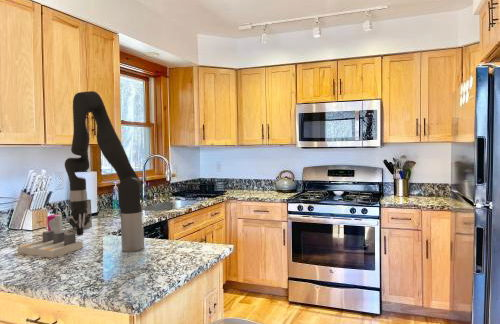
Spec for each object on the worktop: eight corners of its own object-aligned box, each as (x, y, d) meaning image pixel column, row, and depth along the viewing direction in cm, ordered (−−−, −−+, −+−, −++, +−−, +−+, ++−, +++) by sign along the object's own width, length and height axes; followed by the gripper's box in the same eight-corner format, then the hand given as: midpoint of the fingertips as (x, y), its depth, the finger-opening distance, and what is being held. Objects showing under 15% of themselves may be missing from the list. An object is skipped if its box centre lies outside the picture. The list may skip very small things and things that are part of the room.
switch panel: (49, 243, 179) (49, 237, 179) (82, 247, 170) (82, 241, 170) (17, 252, 164) (17, 245, 164) (52, 257, 156) (52, 250, 155)
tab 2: (60, 242, 173) (59, 231, 173) (64, 243, 172) (64, 232, 172) (53, 244, 170) (53, 233, 170) (58, 245, 169) (57, 234, 169)
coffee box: (92, 226, 216) (91, 199, 215) (86, 228, 210) (85, 201, 209) (78, 226, 217) (77, 199, 216) (71, 228, 211) (70, 201, 210)
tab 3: (70, 243, 171) (70, 232, 170) (75, 244, 170) (75, 233, 169) (64, 245, 168) (63, 234, 167) (69, 246, 166) (69, 235, 166)
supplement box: (63, 234, 196) (62, 213, 195) (60, 237, 190) (59, 215, 190) (51, 235, 195) (50, 214, 194) (48, 238, 189) (47, 216, 188)
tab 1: (49, 241, 176) (49, 230, 176) (54, 241, 175) (53, 231, 175) (43, 243, 173) (42, 232, 173) (47, 243, 172) (47, 232, 171)
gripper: (84, 197, 180) (85, 231, 181) (60, 201, 168) (62, 238, 169) (95, 197, 177) (96, 232, 178) (72, 201, 165) (74, 239, 166)
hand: (80, 235), depth 174 cm, fingers closed
